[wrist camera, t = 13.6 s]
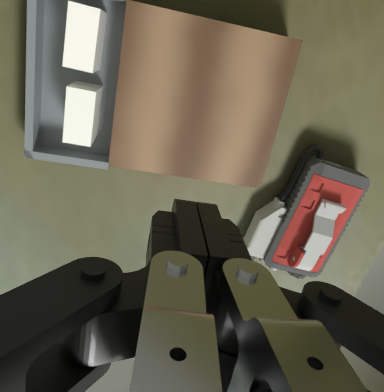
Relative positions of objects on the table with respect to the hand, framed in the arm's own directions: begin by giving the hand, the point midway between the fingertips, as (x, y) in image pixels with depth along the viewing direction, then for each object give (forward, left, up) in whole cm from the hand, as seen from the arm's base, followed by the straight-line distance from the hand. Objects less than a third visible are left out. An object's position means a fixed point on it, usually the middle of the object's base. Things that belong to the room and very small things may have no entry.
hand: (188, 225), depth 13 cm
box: (+7, -2, -20) cm, 21 cm away
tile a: (+6, -5, -17) cm, 19 cm away
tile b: (+5, 0, -17) cm, 18 cm away
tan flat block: (-2, -2, -19) cm, 20 cm away
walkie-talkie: (-14, +10, -20) cm, 27 cm away
